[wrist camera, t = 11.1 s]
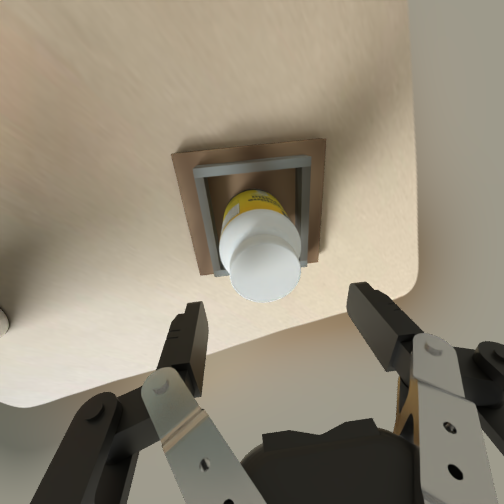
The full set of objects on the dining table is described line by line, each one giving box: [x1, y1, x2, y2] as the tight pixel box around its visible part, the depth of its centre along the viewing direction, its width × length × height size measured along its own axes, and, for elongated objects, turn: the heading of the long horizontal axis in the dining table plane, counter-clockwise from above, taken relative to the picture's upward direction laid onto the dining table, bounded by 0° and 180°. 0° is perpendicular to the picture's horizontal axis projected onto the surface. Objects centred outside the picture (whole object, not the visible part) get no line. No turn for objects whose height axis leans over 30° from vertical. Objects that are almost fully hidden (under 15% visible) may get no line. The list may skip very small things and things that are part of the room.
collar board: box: [171, 139, 326, 277], centre depth 24 cm, size 15×14×4 cm
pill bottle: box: [219, 189, 301, 303], centre depth 19 cm, size 6×6×12 cm
